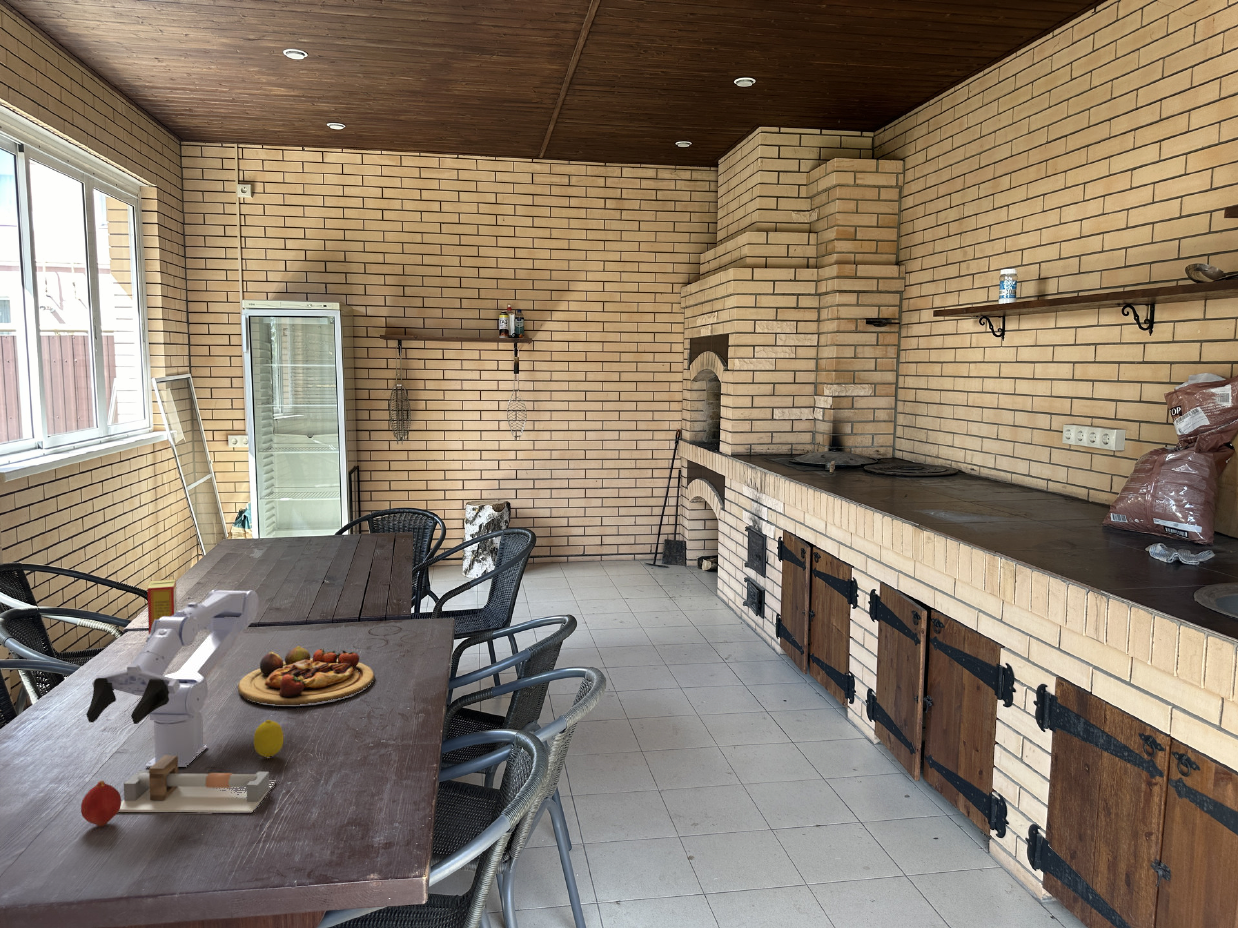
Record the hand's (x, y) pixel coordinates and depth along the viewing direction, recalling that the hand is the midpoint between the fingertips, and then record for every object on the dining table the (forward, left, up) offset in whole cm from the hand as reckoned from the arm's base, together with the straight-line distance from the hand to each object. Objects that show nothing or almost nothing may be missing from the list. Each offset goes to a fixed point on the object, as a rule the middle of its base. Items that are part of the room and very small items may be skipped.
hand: (112, 719), depth 143 cm
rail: (-5, +12, -17) cm, 21 cm away
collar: (-5, +6, -17) cm, 18 cm away
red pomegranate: (+5, 0, -17) cm, 18 cm away
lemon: (-21, +18, -17) cm, 33 cm away
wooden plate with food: (-62, +12, -18) cm, 66 cm away
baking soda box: (-99, -43, -17) cm, 109 cm away
